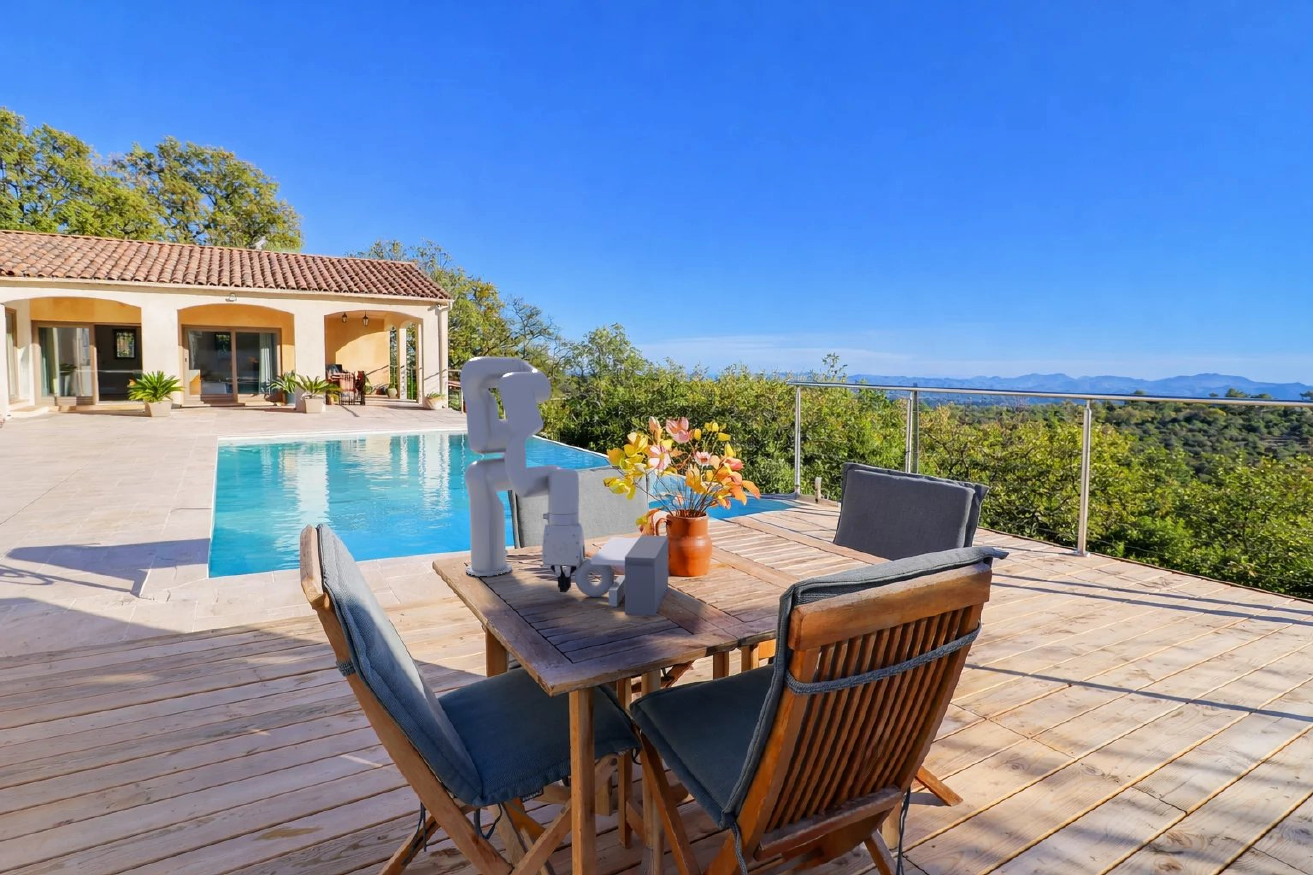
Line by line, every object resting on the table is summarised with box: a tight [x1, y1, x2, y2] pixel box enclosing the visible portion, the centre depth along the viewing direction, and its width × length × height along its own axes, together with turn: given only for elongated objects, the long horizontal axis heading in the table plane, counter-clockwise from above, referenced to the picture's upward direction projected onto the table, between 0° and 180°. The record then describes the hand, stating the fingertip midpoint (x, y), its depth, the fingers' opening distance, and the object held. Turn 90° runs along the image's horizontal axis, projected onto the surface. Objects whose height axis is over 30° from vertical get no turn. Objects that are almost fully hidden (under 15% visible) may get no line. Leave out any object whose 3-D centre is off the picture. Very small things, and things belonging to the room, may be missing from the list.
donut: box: [574, 557, 616, 598], centre depth 176 cm, size 10×3×10 cm, turn 89°
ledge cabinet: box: [591, 534, 669, 617], centre depth 174 cm, size 22×15×14 cm
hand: (564, 590), depth 177 cm, fingers closed
